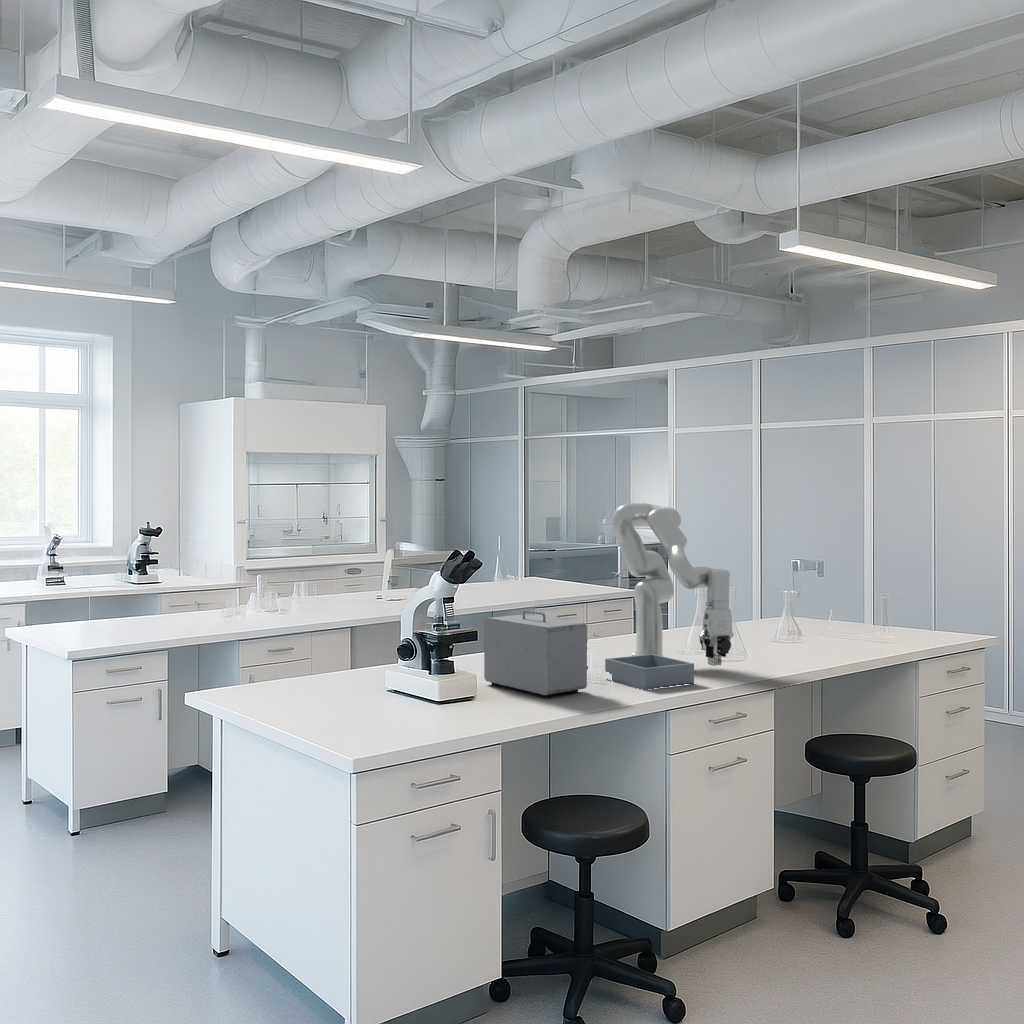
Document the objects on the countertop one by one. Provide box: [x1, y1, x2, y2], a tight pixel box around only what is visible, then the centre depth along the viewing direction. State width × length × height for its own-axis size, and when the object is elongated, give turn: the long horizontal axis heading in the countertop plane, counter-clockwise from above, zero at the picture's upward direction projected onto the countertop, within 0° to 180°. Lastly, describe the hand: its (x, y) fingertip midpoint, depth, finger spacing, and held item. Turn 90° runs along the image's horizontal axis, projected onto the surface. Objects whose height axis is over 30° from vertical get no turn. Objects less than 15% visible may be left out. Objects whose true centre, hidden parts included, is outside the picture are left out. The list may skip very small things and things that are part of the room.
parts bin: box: [604, 654, 695, 691], centre depth 325 cm, size 22×20×7 cm
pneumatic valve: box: [699, 635, 732, 667], centre depth 340 cm, size 6×12×12 cm, turn 27°
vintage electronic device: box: [483, 609, 589, 699], centre depth 314 cm, size 32×18×25 cm, turn 39°
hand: (715, 656), depth 340 cm, fingers closed on pneumatic valve, 5 cm apart
